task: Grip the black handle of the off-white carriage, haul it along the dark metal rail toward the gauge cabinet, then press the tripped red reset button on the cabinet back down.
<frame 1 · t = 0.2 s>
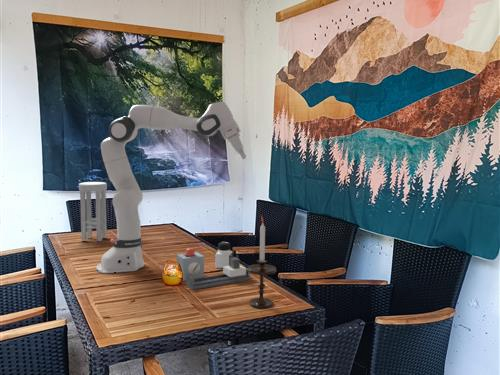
hand: (244, 158, 212), 54 cm above the table, tool tilted 30°, fingers open, 8 cm apart
carriage: (234, 266, 199), point 6 cm above the table, slide at 8.0 cm
gauge cabinet: (190, 276, 202), on the table
candlestick: (261, 304, 170), on the table
stool: (94, 240, 270), on the table
medicine bottle: (224, 266, 219), on the table
rail: (218, 282, 195), on the table
reset button: (190, 253, 201), point 11 cm above the table, slide at 0.0 cm
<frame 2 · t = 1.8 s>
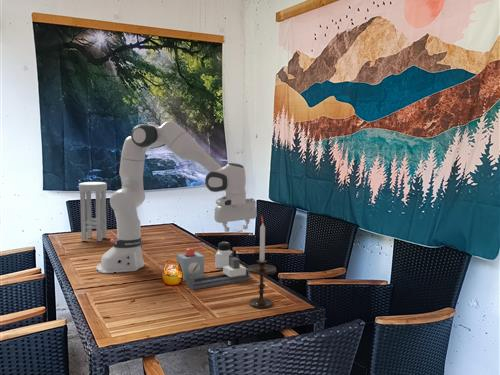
hand: (236, 230, 197), 22 cm above the table, tool pointing down, fingers open, 8 cm apart
nothing on the table moved.
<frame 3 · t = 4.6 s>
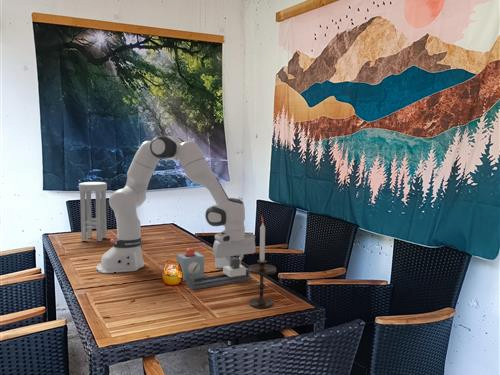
hand: (234, 264, 198), 7 cm above the table, tool pointing down, fingers closed on carriage, 3 cm apart
carriage: (234, 266, 199), point 6 cm above the table, slide at 8.0 cm, touching gripper
everything else where it was.
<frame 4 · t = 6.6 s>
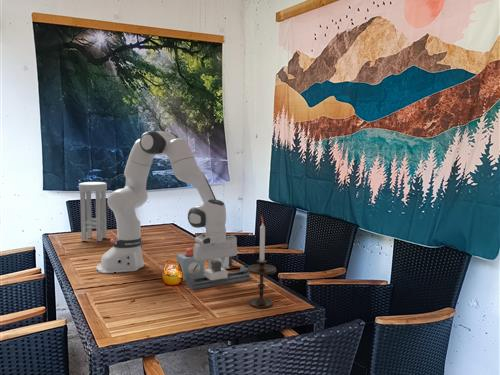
hand: (215, 267, 194), 7 cm above the table, tool pointing down, fingers closed on carriage, 3 cm apart
carriage: (215, 269, 194), point 6 cm above the table, slide at -1.4 cm, touching gripper
everything else where it was.
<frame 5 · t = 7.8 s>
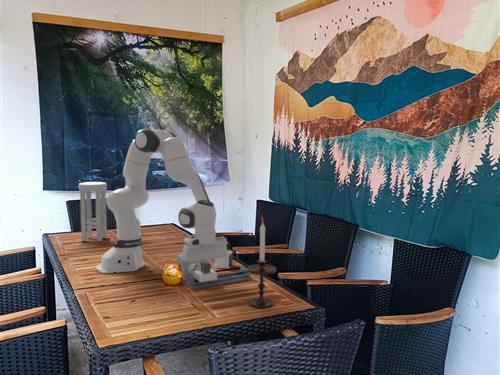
hand: (205, 269, 191), 7 cm above the table, tool pointing down, fingers closed on carriage, 3 cm apart
carriage: (205, 270, 191), point 6 cm above the table, slide at -6.5 cm, touching gripper
everything else where it was.
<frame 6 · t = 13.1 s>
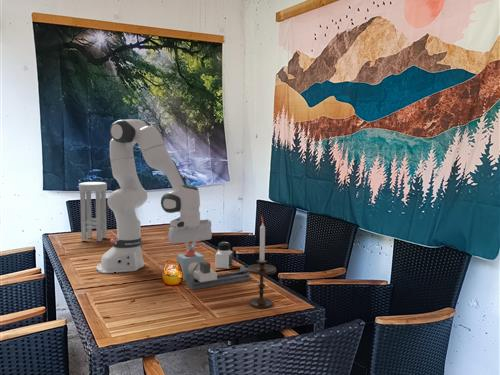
hand: (190, 250, 201), 12 cm above the table, tool pointing down, fingers closed, pressing on reset button
carriage: (205, 270, 191), point 6 cm above the table, slide at -6.5 cm
reset button: (190, 255, 201), point 10 cm above the table, slide at 1.0 cm, touching gripper
everything else where it was.
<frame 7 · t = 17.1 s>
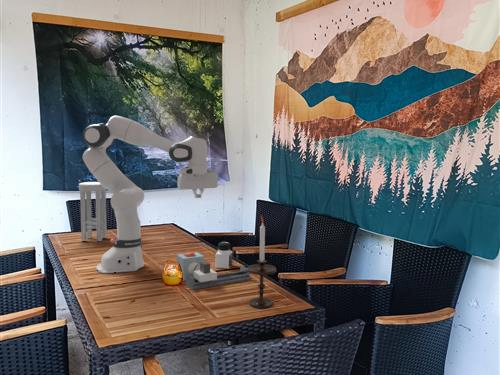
hand: (198, 197, 215), 34 cm above the table, tool pointing down, fingers closed
reset button: (190, 258, 201), point 9 cm above the table, slide at 2.0 cm
everything else where it was.
at the end: carriage slide at -6.5 cm; reset button slide at 2.0 cm; the gripper is holding nothing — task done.
